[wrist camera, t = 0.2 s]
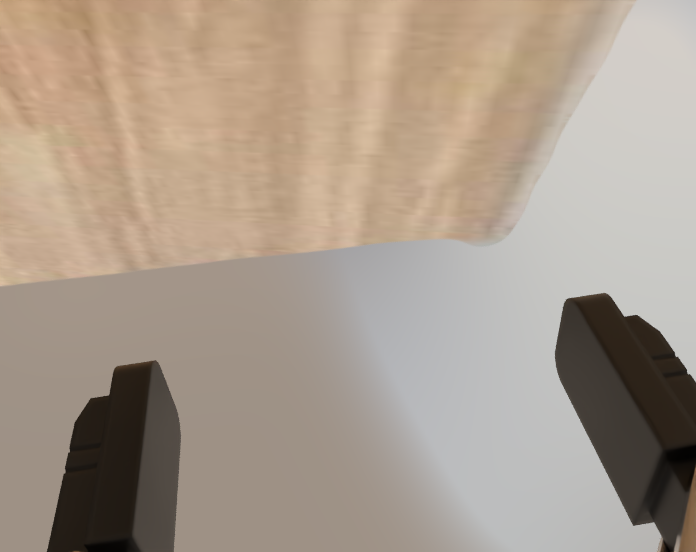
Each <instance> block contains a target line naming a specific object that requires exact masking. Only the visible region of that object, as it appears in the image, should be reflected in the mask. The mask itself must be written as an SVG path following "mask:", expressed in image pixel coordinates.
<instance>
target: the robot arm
mask: <svg viewBox="0 0 696 552" xmlns="http://www.w3.org/2000/svg"><path fill="white" fill-rule="evenodd" d="M555 361H556V368H557V372H558V375H559V378H560V381H561V383H562V385H563V387H564V389H565V391H566V393H567V395H568V397H569V399H570V401H571V403H572V405H573V407H574V409H575V411H576V413H577V415H578V417H579V419H580V421H581V423H582V425H583V427H584V429H585V431H586V433H587V435H588V436H589V438H590V440H591V442H592V444H593V446H594V448H595V450H596V452H597V454H598V456H599V458H600V460H601V462H602V464H603V466H604V468H605V470H606V472H607V474H608V476H609V478H610V480H611V482H612V484H613V486H614V488H615V490H616V492H617V494H618V496H619V498H620V500H621V502H622V504H623V506H624V508H625V510H626V512H627V514H628V516H629V518H630V520H631V522H632V524H633V526H635V525H640V524H646V523H652V522H655V524H656V526H657V528H658V530H659V532H660V534H661V536H662V538H661V540H660V543H659V546H658V551H657V552H696V382H695V381H694V379H693V378H692V376H691V375H690V374H689V375H688V374H687V369H686V368H685V366H684V365H683V364H682V362H681V361H680V359H679V358H678V357H676V356H675V352H674V351H673V350H672V348H671V347H670V345H669V344H668V342H667V341H666V339H665V338H664V337H663V335H662V334H661V333H660V331H658V330H657V329H655V328H654V327H653V326H651V325H650V324H649V323H647V322H646V321H645V320H643V319H642V318H640V317H639V316H638V315H633V316H627V317H624V316H623V314H622V313H621V311H620V310H619V308H618V307H617V305H616V304H615V302H614V301H613V300H612V298H611V297H610V296H609V295H608V294H606V293H601V294H595V295H588V296H582V297H576V298H569V299H567V300H566V301H565V303H564V307H563V311H562V317H561V322H560V328H559V333H558V339H557V345H556V350H555ZM180 439H181V434H180V423H179V417H178V413H177V409H176V406H175V404H174V401H173V399H172V396H171V393H170V391H169V388H168V386H167V383H166V380H165V378H164V375H163V373H162V370H161V368H160V365H159V363H158V362H157V361H156V360H155V361H149V362H143V363H136V364H129V365H123V366H117V367H116V368H115V369H114V372H113V377H112V383H111V389H110V394H109V396H103V397H97V398H91V399H90V400H89V402H88V403H87V405H86V407H85V408H84V410H83V411H82V412H81V414H80V416H79V417H78V419H77V420H76V422H75V424H74V429H73V434H72V438H71V443H70V453H68V457H67V461H66V466H65V470H66V473H65V474H64V476H63V480H62V486H61V489H60V494H59V499H58V504H57V508H56V513H55V517H54V522H53V527H52V531H51V536H50V540H49V545H48V549H47V552H174V537H175V521H176V505H177V489H178V474H179V458H180V457H179V456H180V442H181V440H180Z"/></svg>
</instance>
